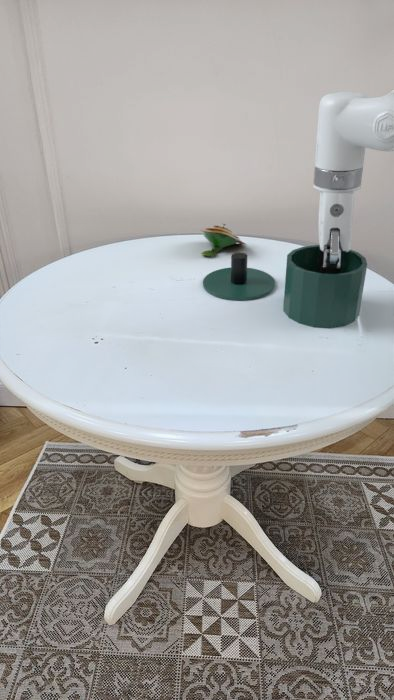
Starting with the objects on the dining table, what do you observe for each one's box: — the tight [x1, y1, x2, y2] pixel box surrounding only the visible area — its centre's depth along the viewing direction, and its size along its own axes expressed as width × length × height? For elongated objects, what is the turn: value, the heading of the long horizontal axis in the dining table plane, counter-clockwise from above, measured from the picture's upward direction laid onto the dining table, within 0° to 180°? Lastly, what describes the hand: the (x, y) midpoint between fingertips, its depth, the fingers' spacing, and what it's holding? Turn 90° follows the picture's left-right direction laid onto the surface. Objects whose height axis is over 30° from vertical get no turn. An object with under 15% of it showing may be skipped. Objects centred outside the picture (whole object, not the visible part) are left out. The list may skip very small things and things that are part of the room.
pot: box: [282, 244, 368, 329], centre depth 96 cm, size 14×14×10 cm
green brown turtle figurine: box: [193, 223, 247, 258], centre depth 123 cm, size 15×13×8 cm
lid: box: [202, 252, 276, 302], centre depth 107 cm, size 15×15×7 cm
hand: (327, 278), depth 95 cm, fingers open, 7 cm apart
